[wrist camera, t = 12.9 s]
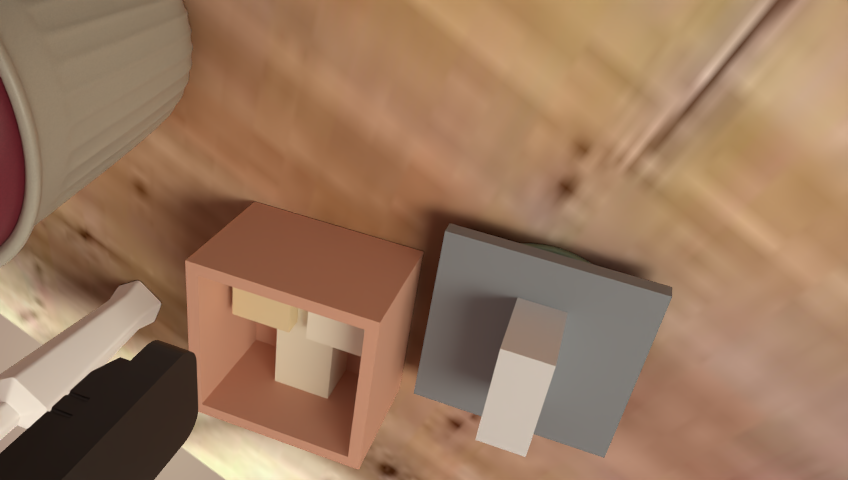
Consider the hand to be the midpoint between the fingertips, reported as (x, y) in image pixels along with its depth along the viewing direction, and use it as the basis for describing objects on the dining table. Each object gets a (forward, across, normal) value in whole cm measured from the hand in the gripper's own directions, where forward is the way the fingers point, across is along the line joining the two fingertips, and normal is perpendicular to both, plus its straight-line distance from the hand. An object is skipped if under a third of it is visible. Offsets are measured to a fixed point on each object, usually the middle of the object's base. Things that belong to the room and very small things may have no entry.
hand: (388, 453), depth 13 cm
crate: (+28, +12, +20) cm, 37 cm away
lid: (+26, -2, +17) cm, 32 cm away
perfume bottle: (+28, +28, +26) cm, 48 cm away
